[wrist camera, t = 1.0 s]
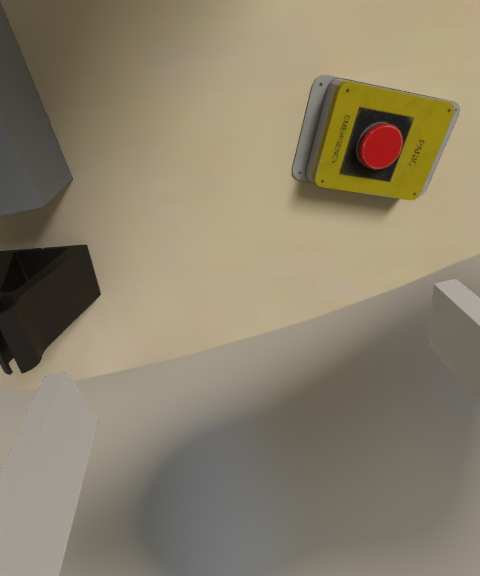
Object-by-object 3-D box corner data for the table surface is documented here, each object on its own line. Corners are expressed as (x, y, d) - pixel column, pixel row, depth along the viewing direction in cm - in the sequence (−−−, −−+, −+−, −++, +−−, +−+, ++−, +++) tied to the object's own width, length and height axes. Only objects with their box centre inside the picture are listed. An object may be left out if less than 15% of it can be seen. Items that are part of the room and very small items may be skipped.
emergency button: (329, 73, 28) (491, 107, 31) (313, 72, 32) (459, 102, 35) (299, 189, 33) (443, 210, 36) (288, 177, 37) (419, 196, 39)
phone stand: (88, 244, 37) (50, 311, 27) (101, 293, 41) (71, 369, 30) (-3, 250, 37) (-78, 321, 26) (17, 299, 40) (-42, 380, 30)
